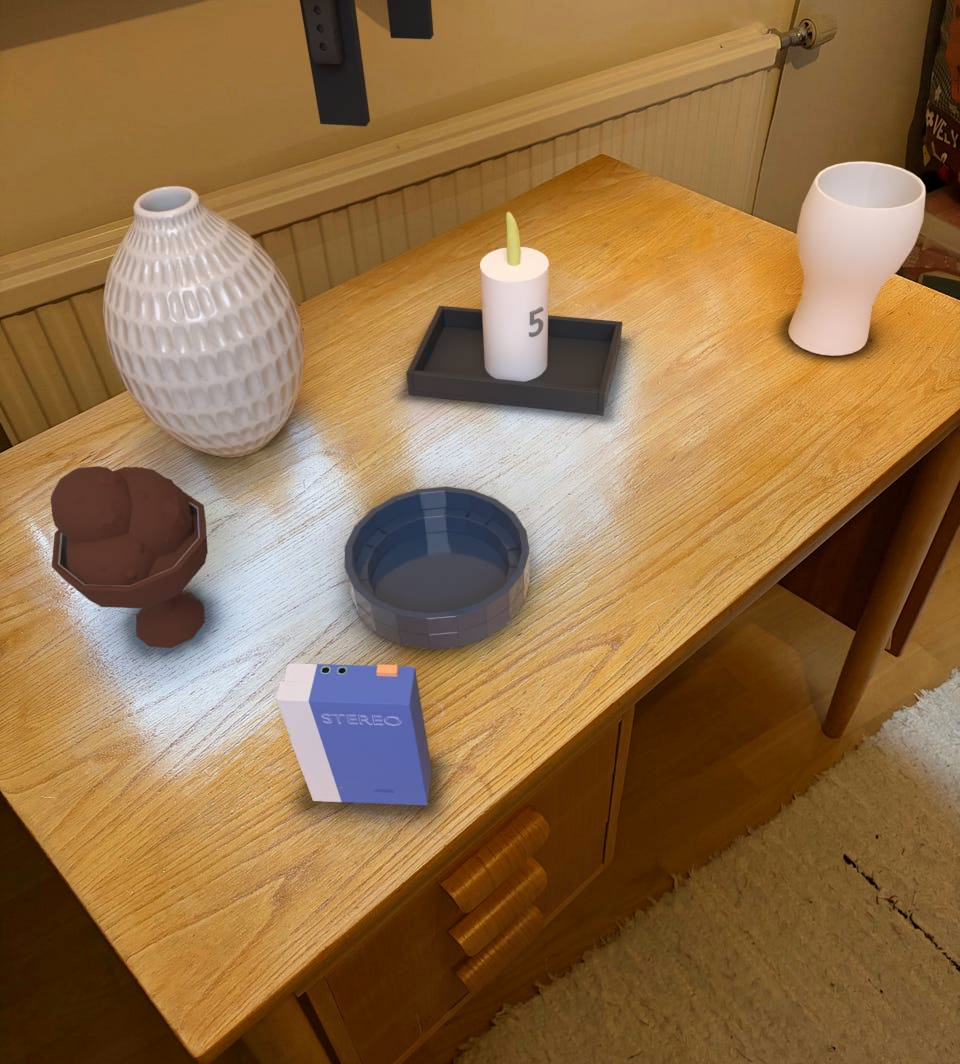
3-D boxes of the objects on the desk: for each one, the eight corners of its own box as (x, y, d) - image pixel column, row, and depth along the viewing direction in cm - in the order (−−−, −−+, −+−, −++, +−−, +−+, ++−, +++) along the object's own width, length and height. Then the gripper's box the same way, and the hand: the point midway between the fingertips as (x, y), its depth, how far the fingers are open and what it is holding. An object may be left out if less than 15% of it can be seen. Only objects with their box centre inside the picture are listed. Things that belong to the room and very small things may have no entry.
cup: (755, 343, 92) (787, 193, 80) (800, 296, 97) (837, 149, 86) (856, 377, 88) (906, 224, 76) (898, 326, 93) (950, 175, 81)
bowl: (543, 534, 76) (544, 498, 73) (507, 665, 67) (506, 631, 64) (382, 513, 78) (376, 477, 75) (328, 637, 70) (318, 602, 67)
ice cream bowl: (158, 700, 67) (80, 556, 55) (73, 627, 72) (-15, 482, 60) (267, 614, 72) (216, 466, 60) (180, 552, 76) (118, 404, 65)
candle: (511, 391, 88) (508, 241, 76) (472, 361, 91) (463, 213, 80) (561, 366, 90) (566, 217, 78) (521, 338, 94) (519, 191, 82)
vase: (121, 433, 87) (21, 200, 70) (264, 364, 94) (204, 135, 76) (207, 517, 79) (117, 277, 62) (356, 435, 85) (312, 197, 68)
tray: (620, 343, 93) (622, 321, 91) (603, 415, 86) (604, 393, 84) (440, 326, 97) (438, 305, 95) (408, 394, 89) (406, 373, 87)
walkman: (432, 770, 62) (414, 662, 53) (427, 806, 60) (408, 701, 51) (319, 765, 63) (282, 658, 53) (311, 801, 61) (271, 696, 52)
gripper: (330, -476, 47) (383, 6, 63) (94, -469, 32) (244, 163, 48) (471, -487, 45) (487, 9, 62) (295, -484, 30) (378, 171, 47)
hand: (381, 77), depth 55 cm, fingers open, 13 cm apart
